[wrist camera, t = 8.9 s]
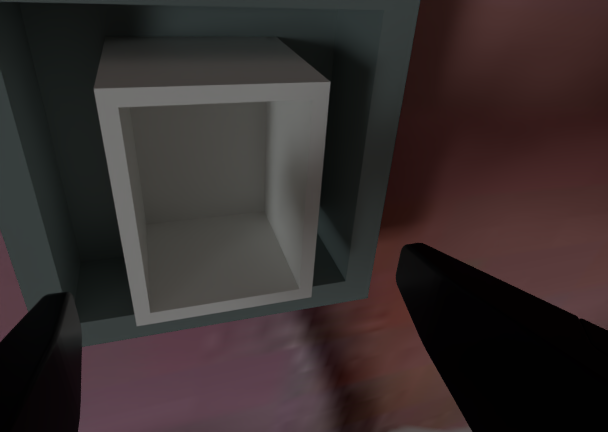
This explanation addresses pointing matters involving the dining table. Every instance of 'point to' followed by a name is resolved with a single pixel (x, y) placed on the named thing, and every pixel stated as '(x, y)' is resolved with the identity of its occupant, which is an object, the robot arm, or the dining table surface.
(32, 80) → the big crate
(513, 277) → the dining table surface
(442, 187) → the dining table surface
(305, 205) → the small crate
